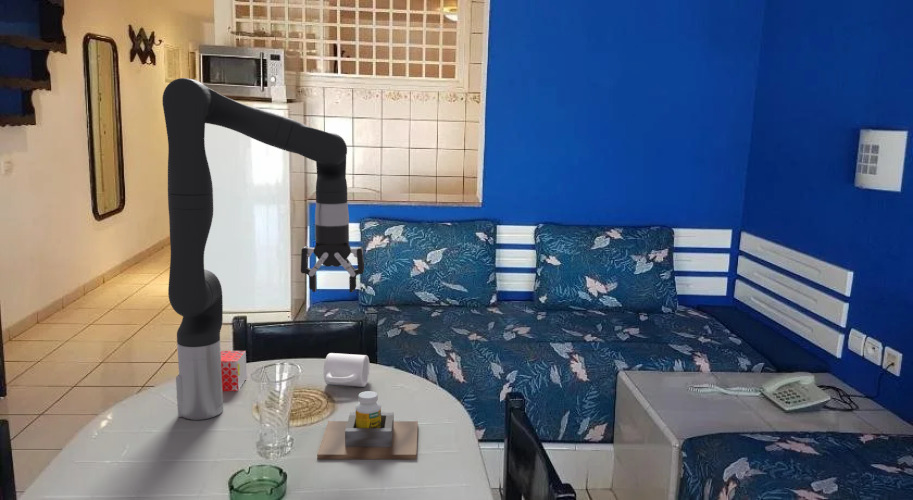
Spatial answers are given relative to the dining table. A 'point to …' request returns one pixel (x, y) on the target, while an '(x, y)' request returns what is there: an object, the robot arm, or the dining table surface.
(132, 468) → the dining table surface
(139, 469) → the dining table surface
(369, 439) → the dock socket
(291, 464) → the dining table surface
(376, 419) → the supplement bottle
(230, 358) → the red patterned cube
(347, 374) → the mug
